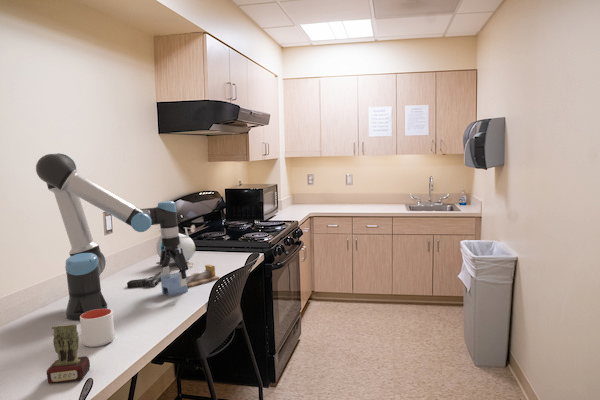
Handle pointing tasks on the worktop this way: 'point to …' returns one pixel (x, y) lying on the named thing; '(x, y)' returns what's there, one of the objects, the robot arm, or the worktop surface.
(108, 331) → the cup
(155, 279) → the handgun
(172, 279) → the slate grey block
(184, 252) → the satellite
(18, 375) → the worktop surface
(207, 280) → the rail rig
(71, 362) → the sculpture
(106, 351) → the worktop surface
